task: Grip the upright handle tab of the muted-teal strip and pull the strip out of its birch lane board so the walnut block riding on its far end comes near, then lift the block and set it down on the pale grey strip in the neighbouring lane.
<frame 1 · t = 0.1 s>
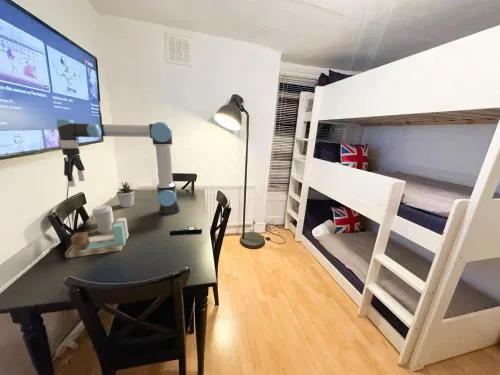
hand: (77, 183, 126), 28 cm above the table, fingers open, 13 cm apart
strip grey: (102, 230, 114), point 7 cm above the table, slide at 0.0 cm
lane board: (101, 245, 112), on the table
block: (82, 247, 106), point 2 cm above the table, touching strip teal
mug: (104, 224, 137), on the table
coffee cup: (105, 230, 129), on the table
potted plant: (128, 205, 171), on the table
strip teal: (98, 237, 107), point 7 cm above the table, slide at 0.0 cm, touching block
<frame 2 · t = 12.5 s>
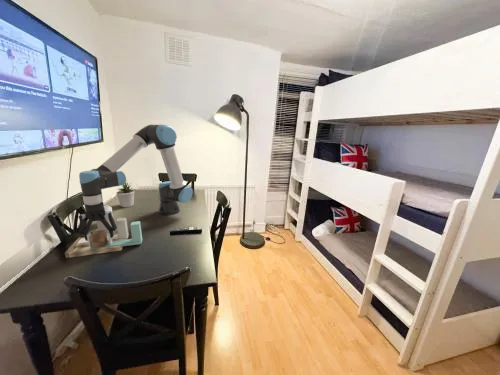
hand: (101, 244, 109), 3 cm above the table, fingers open, 8 cm apart
block: (100, 244, 109), point 2 cm above the table, touching strip teal
strip teal: (116, 235, 110), point 7 cm above the table, slide at 8.0 cm, touching block, gripper
everything else where it was.
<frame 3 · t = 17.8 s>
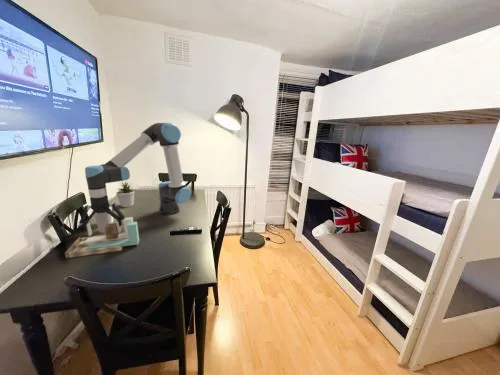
hand: (105, 233, 115), 5 cm above the table, fingers open, 13 cm apart
strip grey: (109, 230, 115), point 7 cm above the table, slide at 3.3 cm, touching block, gripper
block: (113, 236, 117), point 2 cm above the table, touching strip grey
strip teal: (112, 235, 109), point 7 cm above the table, slide at 6.5 cm
everything else where it was.
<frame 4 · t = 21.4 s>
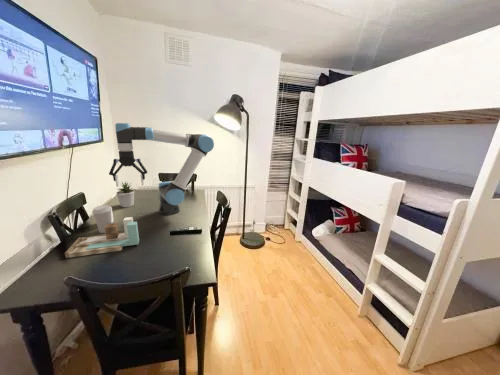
hand: (130, 185, 129), 27 cm above the table, fingers open, 13 cm apart
strip grey: (109, 230, 115), point 7 cm above the table, slide at 3.3 cm, touching block
everything else where it was.
at the end: strip teal slide at 6.5 cm; block inside the target area on the strip grey (1.5 cm from its centre), point 2.4 cm above the strip grey's base; block tilted 0° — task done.
